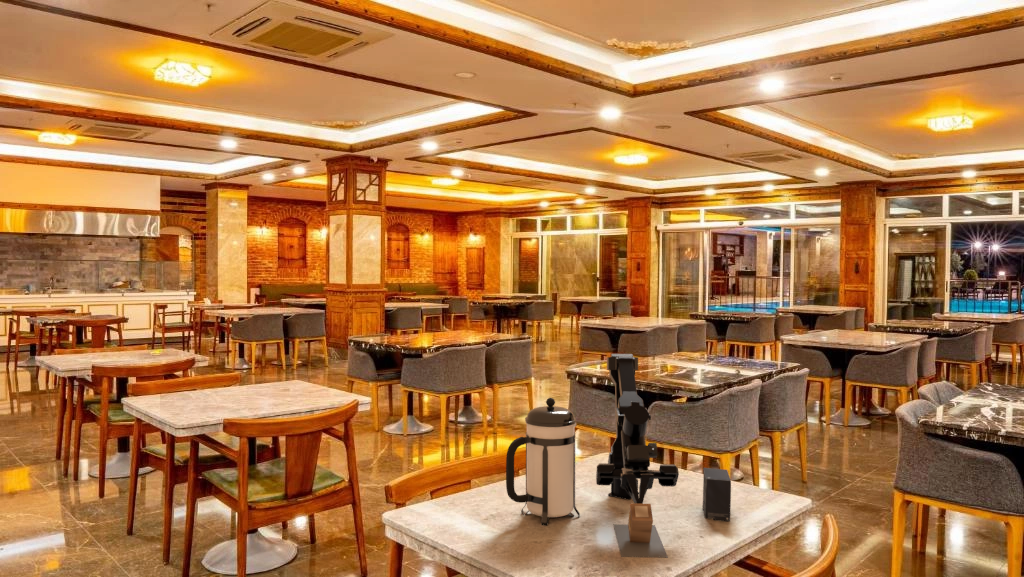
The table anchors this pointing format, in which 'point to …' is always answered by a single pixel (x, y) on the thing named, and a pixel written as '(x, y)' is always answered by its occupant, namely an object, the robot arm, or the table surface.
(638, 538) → the brown rectangular block
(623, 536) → the mat
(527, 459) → the coffee press
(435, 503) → the table surface
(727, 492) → the small box
